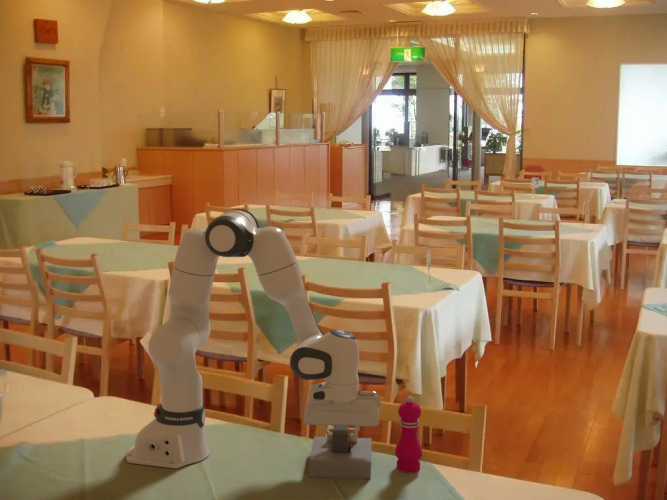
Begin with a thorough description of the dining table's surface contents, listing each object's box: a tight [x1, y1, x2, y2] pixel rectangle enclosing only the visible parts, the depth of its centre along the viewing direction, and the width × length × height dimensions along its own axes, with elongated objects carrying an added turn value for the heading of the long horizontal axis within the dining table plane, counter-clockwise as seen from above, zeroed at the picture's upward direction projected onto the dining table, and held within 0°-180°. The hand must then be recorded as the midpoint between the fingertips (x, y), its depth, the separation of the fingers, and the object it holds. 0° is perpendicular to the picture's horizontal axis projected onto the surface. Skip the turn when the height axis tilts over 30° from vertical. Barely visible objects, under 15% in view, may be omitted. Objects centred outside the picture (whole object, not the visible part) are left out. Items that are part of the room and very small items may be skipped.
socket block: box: [308, 436, 373, 480], centre depth 218 cm, size 16×16×5 cm
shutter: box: [328, 426, 359, 443], centre depth 226 cm, size 8×8×4 cm
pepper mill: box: [394, 395, 423, 474], centre depth 216 cm, size 7×7×20 cm
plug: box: [333, 425, 350, 453], centre depth 218 cm, size 4×6×10 cm, turn 177°
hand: (341, 440), depth 218 cm, fingers open, 5 cm apart
